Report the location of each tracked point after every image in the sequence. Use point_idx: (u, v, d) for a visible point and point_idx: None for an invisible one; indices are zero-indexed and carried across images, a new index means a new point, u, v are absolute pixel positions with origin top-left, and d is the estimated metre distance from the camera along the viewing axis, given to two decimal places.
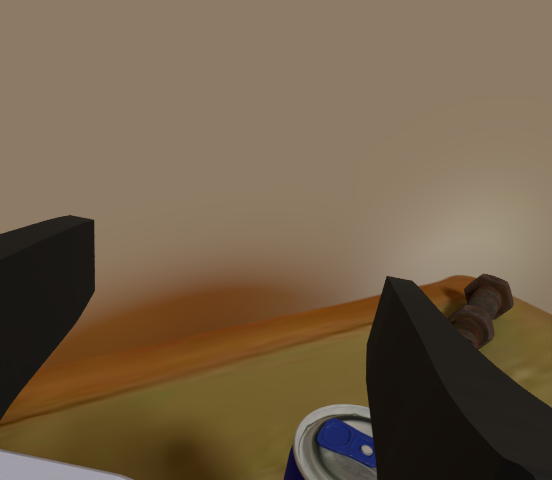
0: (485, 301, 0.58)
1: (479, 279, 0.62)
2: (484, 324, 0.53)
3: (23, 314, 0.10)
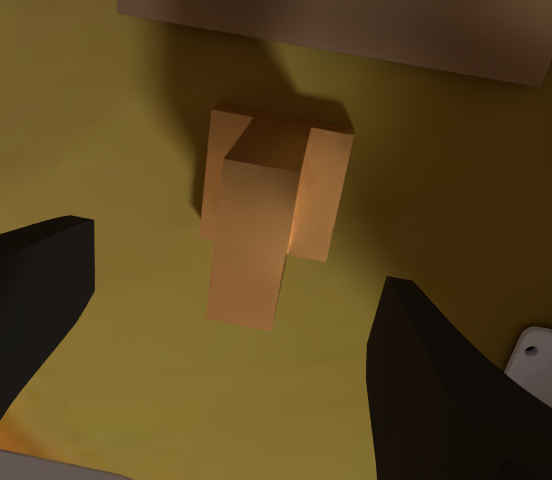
0: None
1: None
2: None
3: (23, 314, 0.10)
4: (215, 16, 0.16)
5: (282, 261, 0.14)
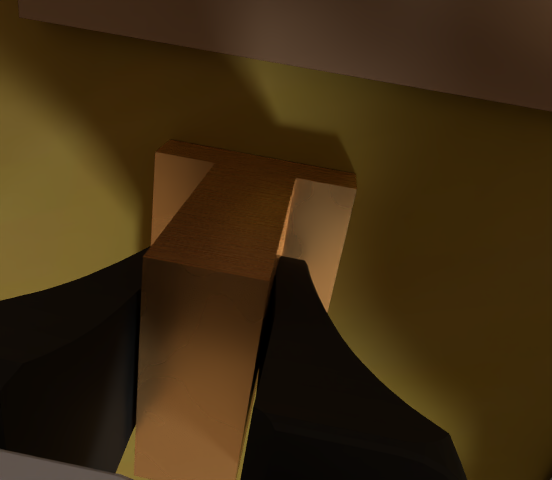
0: None
1: None
2: None
3: None
4: (157, 21, 0.11)
5: (245, 405, 0.09)
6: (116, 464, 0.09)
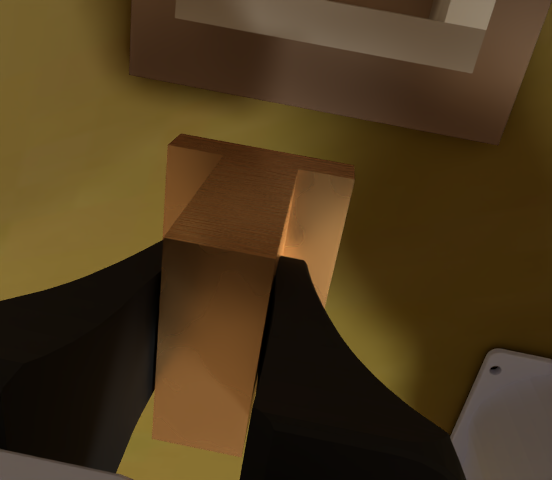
0: None
1: None
2: None
3: (149, 339, 0.10)
4: (215, 79, 0.19)
5: (253, 373, 0.10)
6: (117, 464, 0.09)
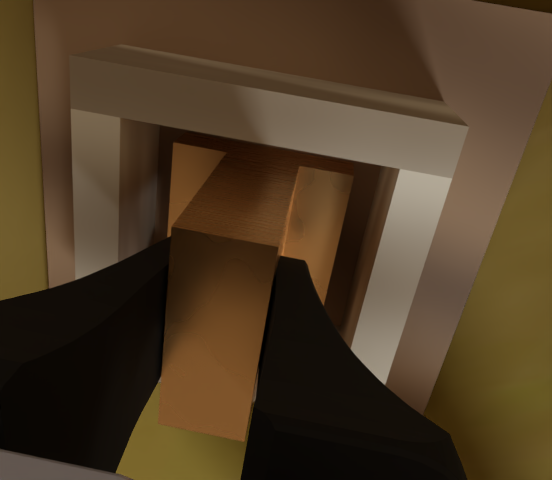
0: None
1: None
2: None
3: (149, 339, 0.10)
4: None
5: (256, 358, 0.10)
6: (116, 464, 0.09)
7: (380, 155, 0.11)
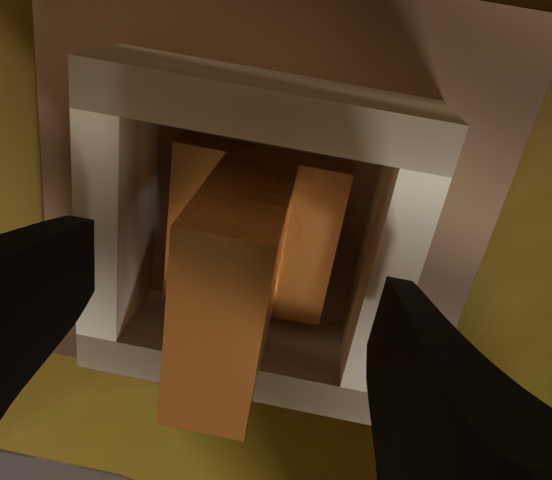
0: None
1: None
2: None
3: (23, 314, 0.10)
4: None
5: (256, 358, 0.10)
6: None
7: (380, 154, 0.11)
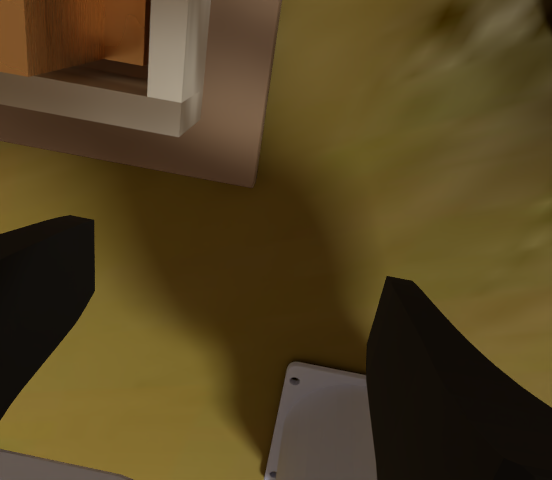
0: None
1: None
2: None
3: (23, 314, 0.10)
4: (9, 133, 0.22)
5: None
6: None
7: None
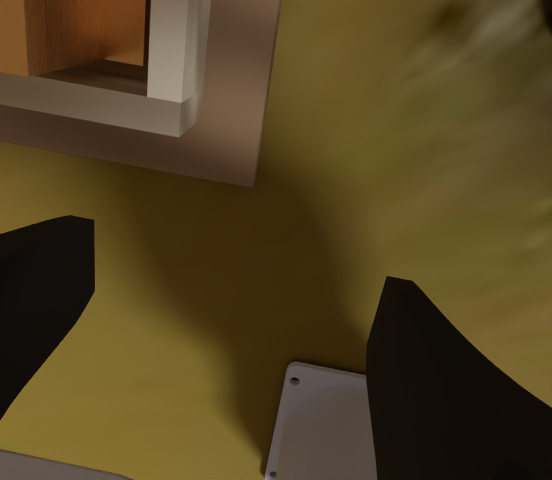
0: None
1: None
2: None
3: (23, 314, 0.10)
4: (9, 133, 0.22)
5: None
6: None
7: None
